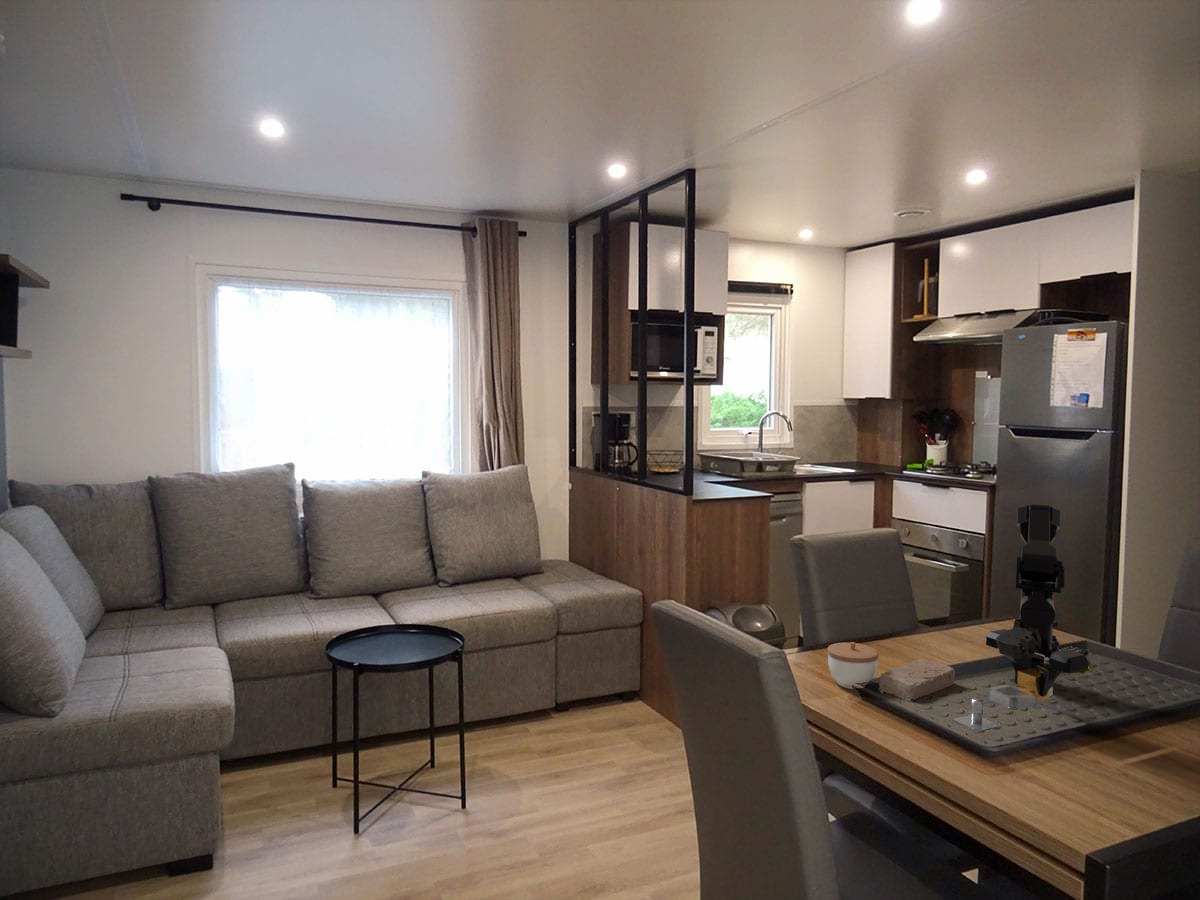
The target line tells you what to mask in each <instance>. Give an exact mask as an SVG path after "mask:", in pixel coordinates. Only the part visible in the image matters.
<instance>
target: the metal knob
mask: <svg viewBox="0 0 1200 900" xmlns="http://www.w3.org/2000/svg"><path fill="white" fill-rule="evenodd" d="M970 701H971V704H970V705H971V715H968V716H963V717H958V718H954V719H952V721H953V722H956V723H958V724H960V725H962V726H964V727H967V728H969V729H971V730H974V731H976V732H981V731H986V730H990V729H996V728H1001V726H1000V725H998V724H996V723H994V722H992V721H990V720H987V719H985V718H983V717H982V715H983V702H984V700H983V699H981V698H978V697H972V698H971V700H970Z"/></svg>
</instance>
